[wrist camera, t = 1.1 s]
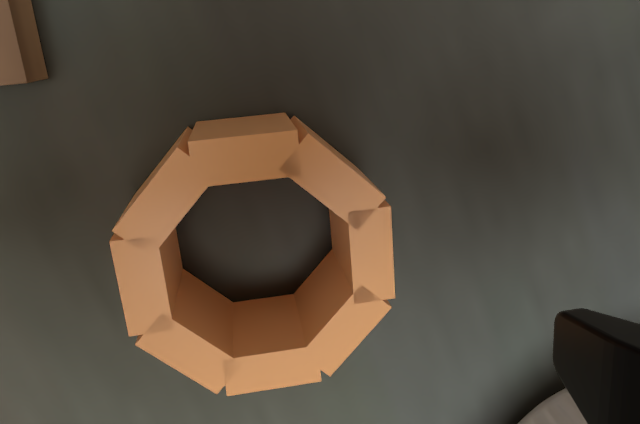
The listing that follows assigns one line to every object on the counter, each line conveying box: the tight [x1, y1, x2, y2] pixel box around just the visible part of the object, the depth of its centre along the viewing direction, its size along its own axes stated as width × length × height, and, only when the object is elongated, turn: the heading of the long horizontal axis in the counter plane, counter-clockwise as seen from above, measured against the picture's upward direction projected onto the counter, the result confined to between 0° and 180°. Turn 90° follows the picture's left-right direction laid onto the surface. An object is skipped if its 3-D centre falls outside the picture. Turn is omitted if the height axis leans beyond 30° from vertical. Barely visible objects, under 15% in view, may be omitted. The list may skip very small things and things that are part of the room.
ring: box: [109, 113, 395, 396], centre depth 14 cm, size 6×6×3 cm
